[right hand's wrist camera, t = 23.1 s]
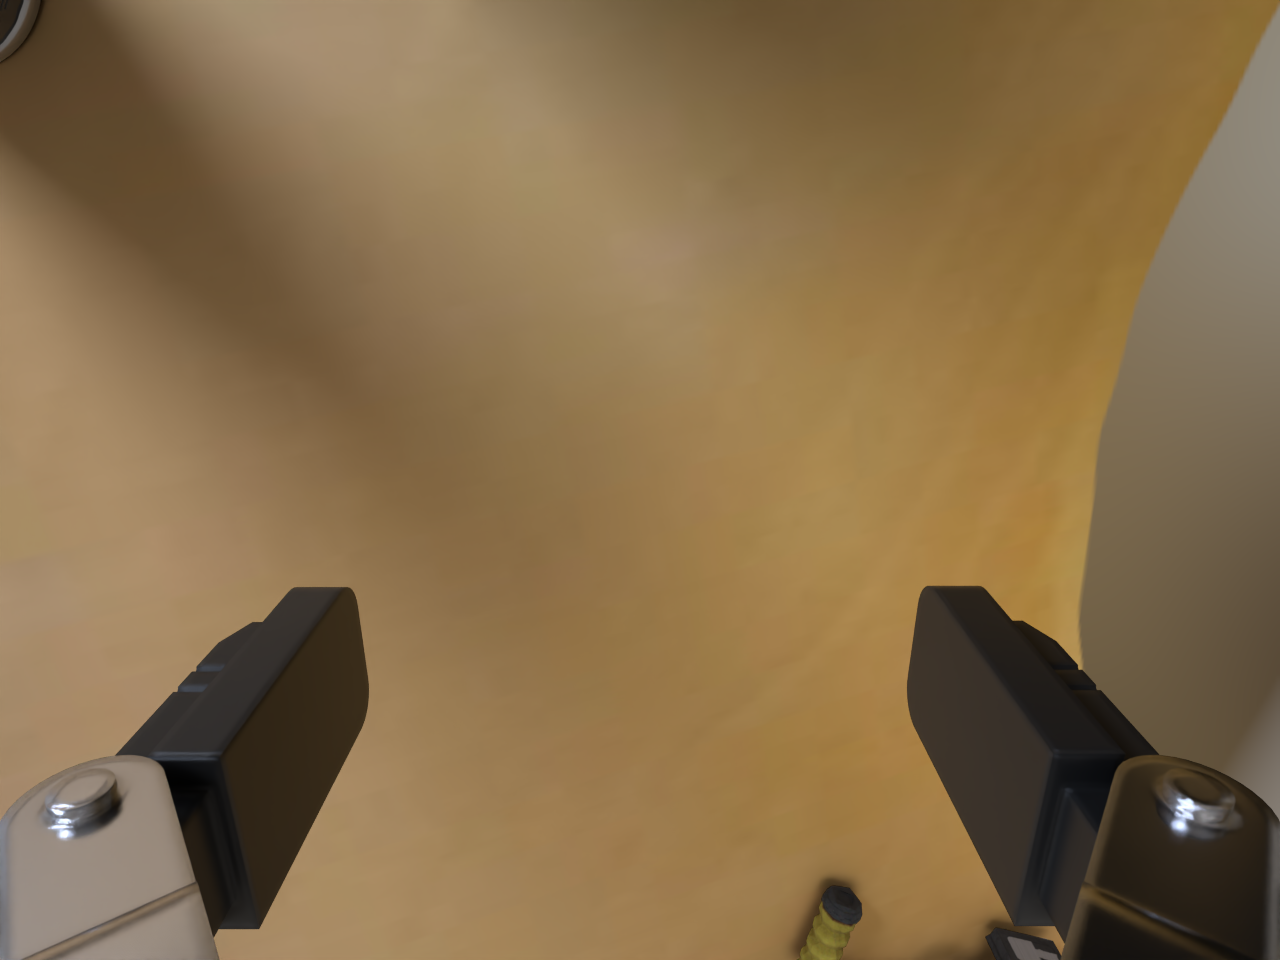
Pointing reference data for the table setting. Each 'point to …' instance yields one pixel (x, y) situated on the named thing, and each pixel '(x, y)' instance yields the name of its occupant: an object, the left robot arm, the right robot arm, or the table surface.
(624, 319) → the table surface
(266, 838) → the right robot arm
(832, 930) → the toy gun
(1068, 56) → the table surface
